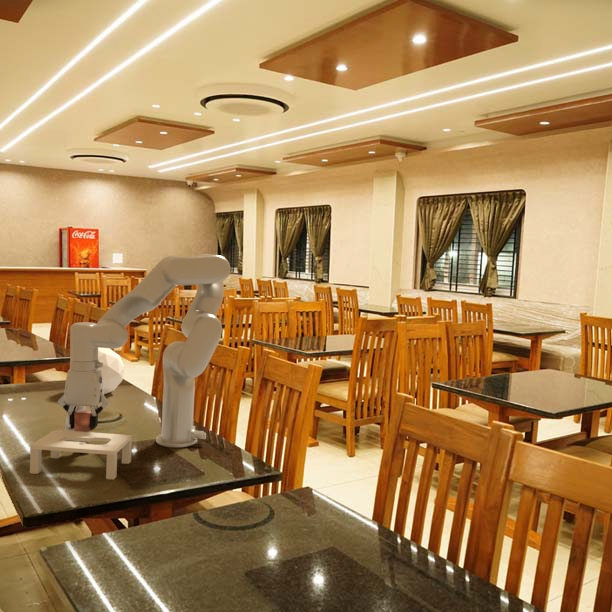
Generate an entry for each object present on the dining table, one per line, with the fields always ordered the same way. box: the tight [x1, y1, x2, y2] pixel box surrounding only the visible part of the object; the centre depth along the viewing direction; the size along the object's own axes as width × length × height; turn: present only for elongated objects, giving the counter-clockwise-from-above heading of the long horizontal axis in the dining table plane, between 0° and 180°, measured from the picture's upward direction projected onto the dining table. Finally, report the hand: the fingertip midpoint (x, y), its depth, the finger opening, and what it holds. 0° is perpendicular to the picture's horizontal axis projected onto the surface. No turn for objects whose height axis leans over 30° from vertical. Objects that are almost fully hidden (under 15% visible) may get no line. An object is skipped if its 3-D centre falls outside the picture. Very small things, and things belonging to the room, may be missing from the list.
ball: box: [98, 348, 125, 395], centre depth 244 cm, size 19×20×20 cm
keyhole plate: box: [29, 429, 133, 480], centre depth 164 cm, size 22×14×8 cm, turn 88°
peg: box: [74, 410, 93, 444], centre depth 175 cm, size 5×5×11 cm
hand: (83, 427), depth 175 cm, fingers closed on peg, 5 cm apart
